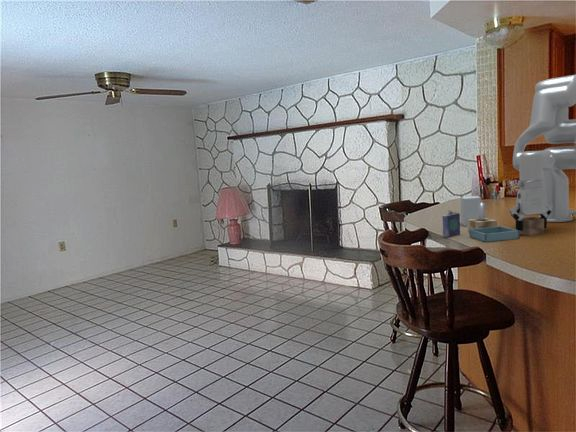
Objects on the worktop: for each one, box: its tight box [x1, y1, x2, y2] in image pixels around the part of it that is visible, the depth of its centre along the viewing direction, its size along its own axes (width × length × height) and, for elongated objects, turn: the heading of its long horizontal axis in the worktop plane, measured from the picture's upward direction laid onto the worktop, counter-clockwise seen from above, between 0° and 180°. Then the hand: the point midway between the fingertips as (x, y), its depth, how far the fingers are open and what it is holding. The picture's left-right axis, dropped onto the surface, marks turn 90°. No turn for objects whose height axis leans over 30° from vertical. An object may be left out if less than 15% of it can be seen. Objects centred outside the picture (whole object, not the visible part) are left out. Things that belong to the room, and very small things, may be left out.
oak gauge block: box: [467, 217, 498, 232], centre depth 172 cm, size 8×8×5 cm
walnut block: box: [518, 216, 545, 237], centre depth 162 cm, size 6×6×6 cm
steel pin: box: [478, 202, 486, 221], centre depth 172 cm, size 3×3×12 cm
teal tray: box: [469, 225, 520, 243], centre depth 160 cm, size 13×11×3 cm
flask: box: [441, 209, 461, 238], centre depth 170 cm, size 9×3×11 cm, turn 121°
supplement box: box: [460, 195, 482, 227], centre depth 189 cm, size 7×7×13 cm
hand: (531, 229), depth 162 cm, fingers open, 9 cm apart
